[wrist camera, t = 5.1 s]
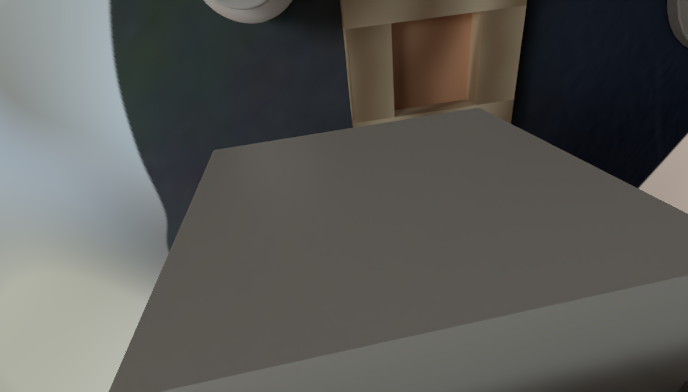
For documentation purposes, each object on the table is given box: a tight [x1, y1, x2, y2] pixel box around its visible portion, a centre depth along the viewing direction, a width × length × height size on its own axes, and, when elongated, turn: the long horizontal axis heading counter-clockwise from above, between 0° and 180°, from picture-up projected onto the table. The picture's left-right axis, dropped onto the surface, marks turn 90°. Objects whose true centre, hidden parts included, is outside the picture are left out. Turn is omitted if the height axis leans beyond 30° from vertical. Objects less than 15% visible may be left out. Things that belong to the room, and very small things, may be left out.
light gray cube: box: [109, 108, 688, 392], centre depth 8 cm, size 7×7×7 cm
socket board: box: [340, 0, 527, 128], centre depth 25 cm, size 12×12×2 cm
